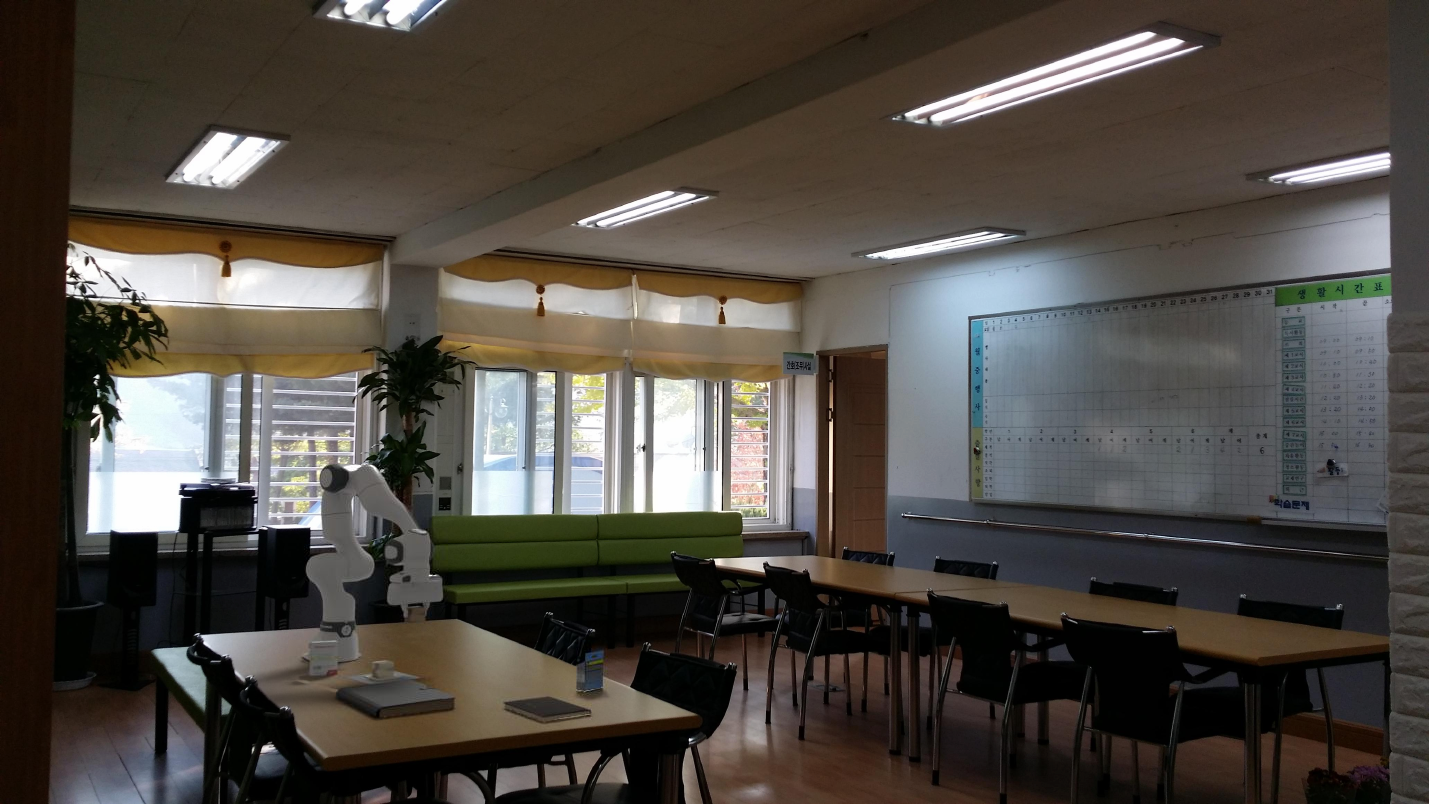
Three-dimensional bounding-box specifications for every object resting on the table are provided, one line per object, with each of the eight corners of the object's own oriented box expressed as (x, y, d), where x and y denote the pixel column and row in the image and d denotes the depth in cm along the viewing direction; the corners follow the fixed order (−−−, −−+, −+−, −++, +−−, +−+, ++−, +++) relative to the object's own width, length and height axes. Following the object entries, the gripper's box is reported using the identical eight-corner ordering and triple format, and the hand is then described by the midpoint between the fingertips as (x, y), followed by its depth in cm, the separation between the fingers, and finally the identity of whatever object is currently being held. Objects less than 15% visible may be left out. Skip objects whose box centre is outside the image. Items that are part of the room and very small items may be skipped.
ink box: (335, 674, 367) (337, 639, 368) (337, 677, 362) (338, 641, 363) (308, 676, 363) (310, 640, 364) (310, 679, 359) (311, 642, 360)
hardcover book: (542, 724, 301) (543, 716, 301) (503, 709, 319) (503, 702, 319) (591, 717, 311) (591, 709, 311) (550, 703, 329) (550, 695, 329)
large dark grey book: (456, 695, 318) (375, 706, 303) (456, 709, 318) (375, 721, 303) (412, 678, 344) (336, 687, 329) (411, 691, 344) (335, 701, 329)
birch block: (371, 677, 358) (372, 662, 358) (385, 675, 362) (386, 660, 362) (379, 679, 355) (380, 663, 355) (393, 677, 358) (393, 662, 359)
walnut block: (404, 621, 375) (405, 607, 376) (417, 620, 379) (417, 606, 379) (412, 623, 372) (412, 608, 372) (425, 622, 375) (425, 607, 376)
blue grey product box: (594, 687, 353) (595, 648, 354) (603, 688, 351) (604, 650, 351) (575, 691, 346) (576, 652, 346) (584, 692, 343) (585, 653, 344)
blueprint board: (343, 680, 358) (343, 675, 358) (392, 673, 371) (392, 669, 371) (371, 687, 345) (372, 683, 345) (421, 680, 358) (421, 676, 359)
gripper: (437, 573, 386) (435, 612, 385) (385, 577, 371) (384, 617, 370) (447, 575, 382) (445, 614, 381) (395, 578, 367) (393, 619, 366)
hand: (415, 616), depth 375 cm, fingers closed on walnut block, 5 cm apart
